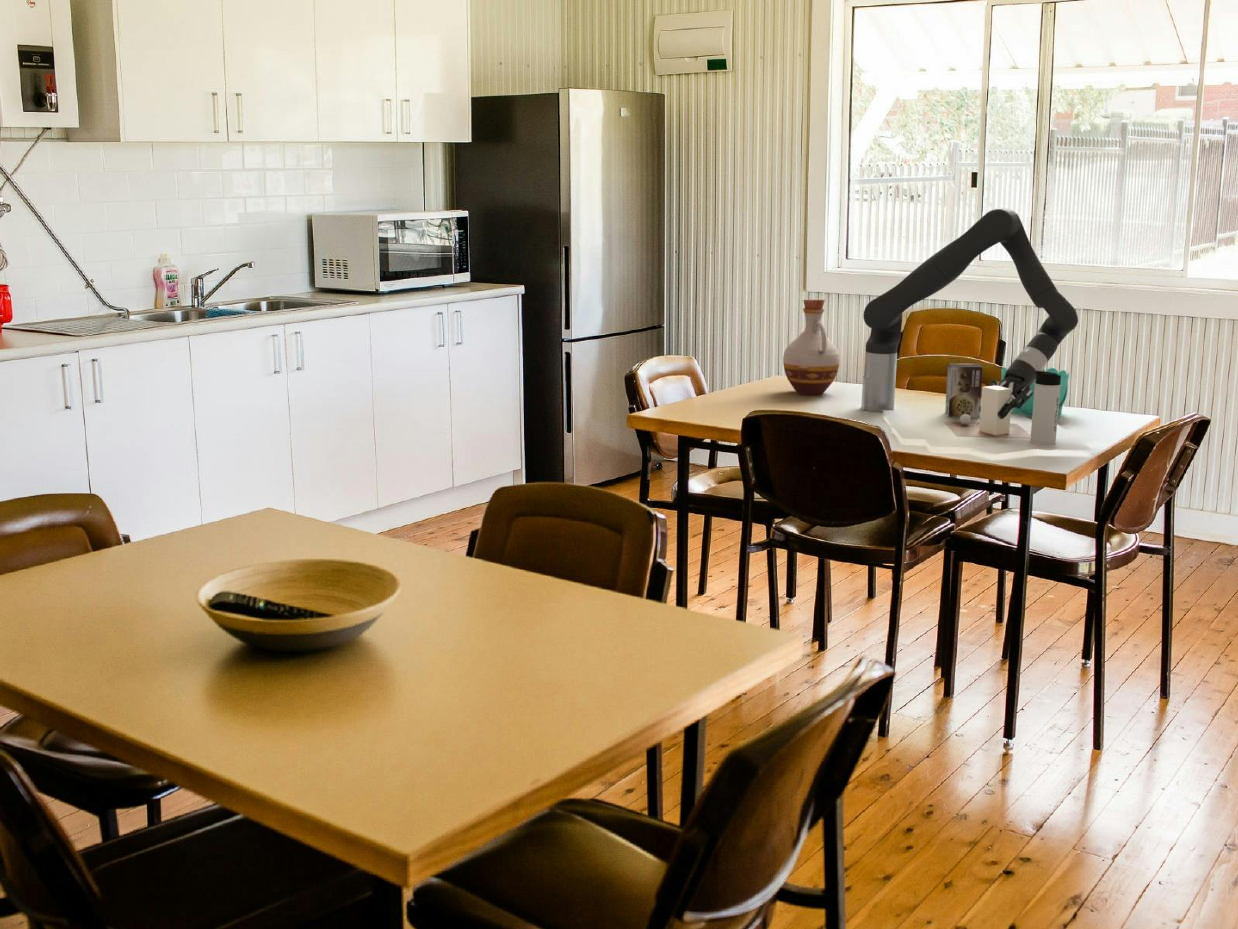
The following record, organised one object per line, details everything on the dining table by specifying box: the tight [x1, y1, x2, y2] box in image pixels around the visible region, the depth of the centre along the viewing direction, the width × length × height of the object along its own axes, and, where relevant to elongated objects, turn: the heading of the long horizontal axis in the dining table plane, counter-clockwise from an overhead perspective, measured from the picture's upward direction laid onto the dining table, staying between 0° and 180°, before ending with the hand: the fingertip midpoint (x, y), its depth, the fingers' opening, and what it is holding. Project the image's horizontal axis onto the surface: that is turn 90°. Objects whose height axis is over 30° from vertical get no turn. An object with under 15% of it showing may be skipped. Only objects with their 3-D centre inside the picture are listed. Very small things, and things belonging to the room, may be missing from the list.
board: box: [943, 421, 1031, 439], centre depth 351 cm, size 20×20×2 cm
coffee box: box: [944, 362, 984, 419], centre depth 370 cm, size 9×6×16 cm
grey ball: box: [959, 414, 972, 425], centre depth 357 cm, size 3×3×3 cm
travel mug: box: [1029, 370, 1061, 445], centre depth 335 cm, size 6×7×20 cm
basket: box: [1000, 366, 1070, 419], centre depth 382 cm, size 19×18×13 cm
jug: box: [782, 298, 841, 397], centre depth 409 cm, size 20×18×30 cm
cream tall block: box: [979, 385, 1013, 435], centre depth 346 cm, size 5×6×12 cm
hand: (990, 414), depth 346 cm, fingers closed on cream tall block, 6 cm apart
